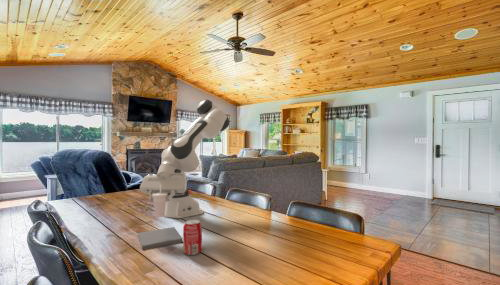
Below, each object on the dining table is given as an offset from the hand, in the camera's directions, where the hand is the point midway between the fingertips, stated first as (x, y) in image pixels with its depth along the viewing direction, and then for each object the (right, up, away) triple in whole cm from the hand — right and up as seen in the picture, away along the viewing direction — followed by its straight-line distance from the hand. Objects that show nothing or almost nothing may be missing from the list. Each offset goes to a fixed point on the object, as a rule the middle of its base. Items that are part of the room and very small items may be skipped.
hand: (159, 200), depth 112 cm
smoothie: (0, -7, +1) cm, 7 cm away
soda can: (+17, -18, -12) cm, 28 cm away
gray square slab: (0, -17, +1) cm, 17 cm away
